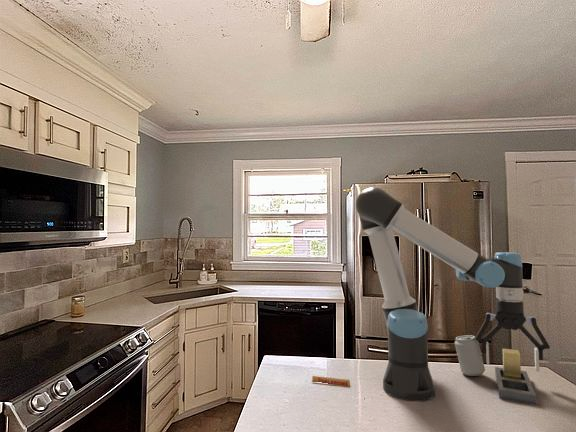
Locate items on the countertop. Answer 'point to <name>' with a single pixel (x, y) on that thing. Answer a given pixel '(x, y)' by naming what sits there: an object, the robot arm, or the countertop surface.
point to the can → (469, 355)
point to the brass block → (511, 364)
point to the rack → (515, 387)
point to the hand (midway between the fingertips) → (511, 366)
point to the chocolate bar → (332, 381)
